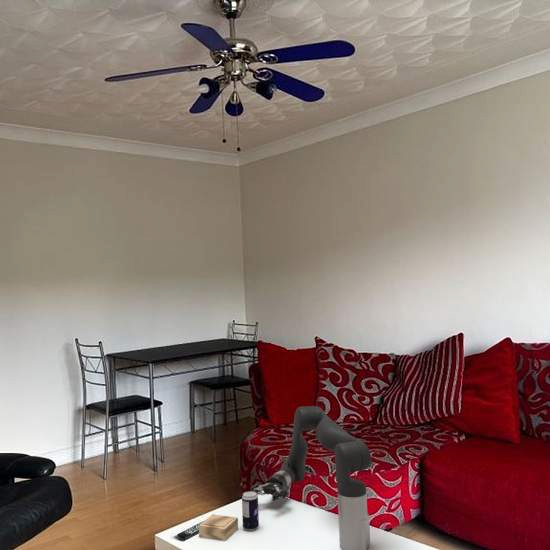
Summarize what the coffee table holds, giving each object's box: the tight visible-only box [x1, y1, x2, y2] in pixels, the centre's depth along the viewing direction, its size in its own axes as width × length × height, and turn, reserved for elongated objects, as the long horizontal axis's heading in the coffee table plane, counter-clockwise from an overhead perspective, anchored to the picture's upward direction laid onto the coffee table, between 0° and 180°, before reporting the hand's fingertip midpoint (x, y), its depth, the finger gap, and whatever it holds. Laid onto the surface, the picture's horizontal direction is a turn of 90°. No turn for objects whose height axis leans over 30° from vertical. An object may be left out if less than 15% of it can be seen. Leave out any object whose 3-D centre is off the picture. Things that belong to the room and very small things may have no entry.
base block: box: [198, 514, 239, 542], centre depth 198 cm, size 10×10×4 cm
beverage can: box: [241, 491, 260, 532], centre depth 201 cm, size 6×6×12 cm
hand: (262, 497), depth 211 cm, fingers open, 8 cm apart
